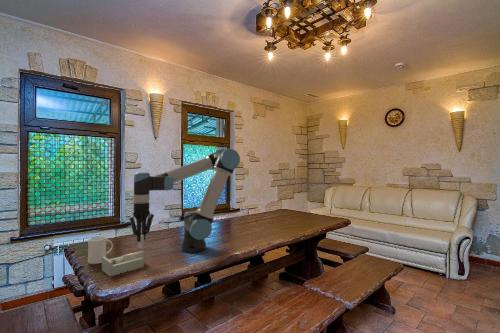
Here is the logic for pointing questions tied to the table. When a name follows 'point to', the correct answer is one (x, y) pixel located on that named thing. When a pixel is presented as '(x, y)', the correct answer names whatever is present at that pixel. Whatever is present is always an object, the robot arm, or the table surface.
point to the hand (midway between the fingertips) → (141, 247)
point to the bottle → (129, 257)
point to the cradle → (120, 265)
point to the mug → (97, 249)
